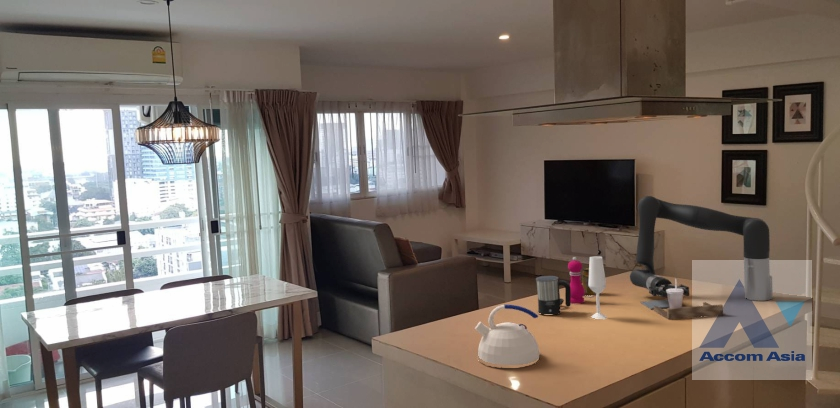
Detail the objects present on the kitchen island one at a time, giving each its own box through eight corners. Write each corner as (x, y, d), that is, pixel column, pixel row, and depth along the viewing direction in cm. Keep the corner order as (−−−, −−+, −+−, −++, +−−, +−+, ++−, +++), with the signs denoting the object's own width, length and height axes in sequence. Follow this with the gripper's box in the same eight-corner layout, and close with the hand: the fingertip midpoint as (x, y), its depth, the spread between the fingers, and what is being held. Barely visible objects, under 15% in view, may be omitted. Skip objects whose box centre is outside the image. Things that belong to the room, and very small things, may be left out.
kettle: (477, 349, 206) (473, 298, 205) (537, 347, 204) (534, 296, 203) (476, 370, 186) (473, 314, 185) (543, 368, 184) (540, 311, 183)
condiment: (600, 293, 274) (599, 267, 273) (590, 297, 268) (589, 271, 267) (586, 291, 279) (584, 266, 278) (576, 295, 273) (575, 269, 272)
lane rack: (705, 307, 240) (705, 297, 239) (723, 315, 227) (722, 305, 226) (654, 311, 239) (653, 301, 239) (668, 319, 226) (668, 309, 226)
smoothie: (687, 316, 229) (686, 280, 228) (670, 317, 229) (669, 281, 228) (680, 311, 235) (679, 276, 234) (664, 312, 235) (662, 277, 234)
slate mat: (666, 301, 253) (666, 299, 253) (678, 307, 242) (678, 306, 242) (640, 303, 252) (640, 301, 252) (651, 309, 242) (651, 308, 241)
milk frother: (542, 317, 241) (540, 281, 240) (528, 308, 257) (526, 274, 256) (575, 313, 244) (573, 277, 243) (559, 304, 259) (557, 270, 258)
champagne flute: (597, 320, 231) (594, 259, 229) (586, 316, 237) (583, 257, 235) (611, 317, 234) (608, 257, 232) (599, 314, 240) (597, 255, 238)
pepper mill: (587, 300, 262) (585, 255, 261) (582, 304, 256) (580, 258, 255) (571, 299, 266) (569, 255, 265) (566, 303, 260) (563, 258, 259)
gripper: (641, 277, 245) (658, 286, 229) (675, 275, 246) (695, 283, 230) (642, 295, 246) (659, 305, 230) (676, 293, 246) (695, 302, 230)
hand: (677, 294), depth 230 cm, fingers open, 8 cm apart
